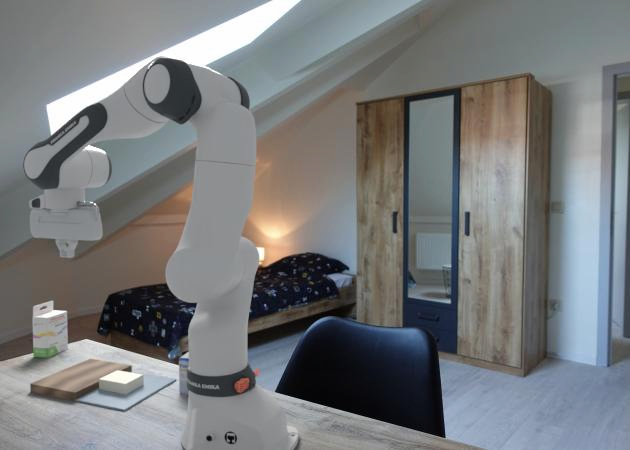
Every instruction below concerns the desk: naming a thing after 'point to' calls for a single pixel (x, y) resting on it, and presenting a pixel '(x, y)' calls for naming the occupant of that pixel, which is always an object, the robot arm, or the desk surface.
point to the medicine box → (183, 373)
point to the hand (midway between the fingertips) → (67, 257)
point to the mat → (126, 400)
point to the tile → (121, 382)
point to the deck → (77, 379)
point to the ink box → (49, 330)
